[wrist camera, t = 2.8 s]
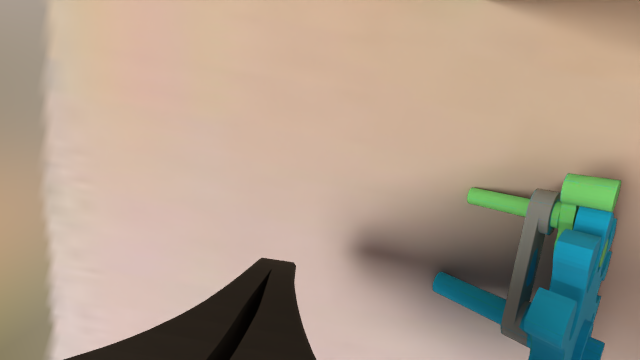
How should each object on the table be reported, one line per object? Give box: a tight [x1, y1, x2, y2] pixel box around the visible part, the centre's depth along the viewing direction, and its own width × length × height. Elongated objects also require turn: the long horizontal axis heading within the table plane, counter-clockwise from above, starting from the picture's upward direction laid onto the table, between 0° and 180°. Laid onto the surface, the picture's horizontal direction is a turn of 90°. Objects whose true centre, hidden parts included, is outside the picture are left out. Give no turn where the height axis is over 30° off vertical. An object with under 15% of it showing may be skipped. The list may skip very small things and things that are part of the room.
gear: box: [433, 173, 621, 360], centre depth 12 cm, size 11×6×10 cm
